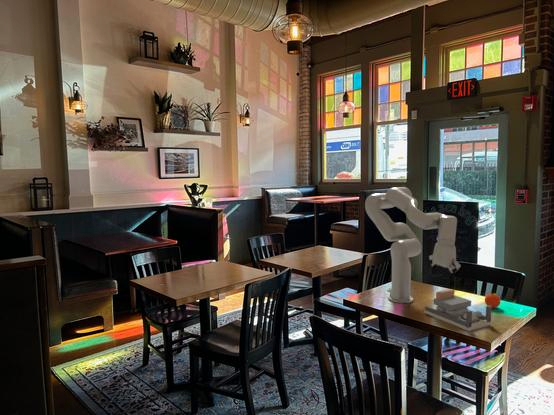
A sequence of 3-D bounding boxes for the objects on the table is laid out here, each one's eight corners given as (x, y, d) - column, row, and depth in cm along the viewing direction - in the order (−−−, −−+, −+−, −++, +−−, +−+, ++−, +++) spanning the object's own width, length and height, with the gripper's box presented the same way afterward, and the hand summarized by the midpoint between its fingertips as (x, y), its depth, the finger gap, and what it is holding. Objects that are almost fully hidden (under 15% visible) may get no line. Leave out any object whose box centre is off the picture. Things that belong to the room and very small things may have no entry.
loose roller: (461, 323, 181) (460, 313, 181) (475, 319, 185) (474, 310, 185) (469, 324, 177) (468, 314, 177) (483, 320, 181) (482, 311, 181)
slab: (433, 303, 191) (433, 292, 191) (452, 299, 197) (453, 288, 197) (451, 310, 183) (451, 298, 182) (470, 305, 189) (471, 294, 188)
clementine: (491, 304, 208) (492, 290, 208) (504, 308, 202) (505, 294, 202) (481, 306, 205) (481, 292, 204) (494, 310, 199) (495, 296, 198)
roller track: (424, 313, 196) (424, 295, 195) (445, 308, 202) (446, 291, 202) (468, 331, 174) (469, 311, 174) (490, 324, 181) (491, 306, 180)
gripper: (425, 238, 197) (422, 273, 200) (456, 247, 182) (452, 284, 185) (437, 237, 201) (433, 271, 203) (467, 245, 185) (463, 282, 188)
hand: (442, 277), depth 194 cm, fingers open, 9 cm apart
